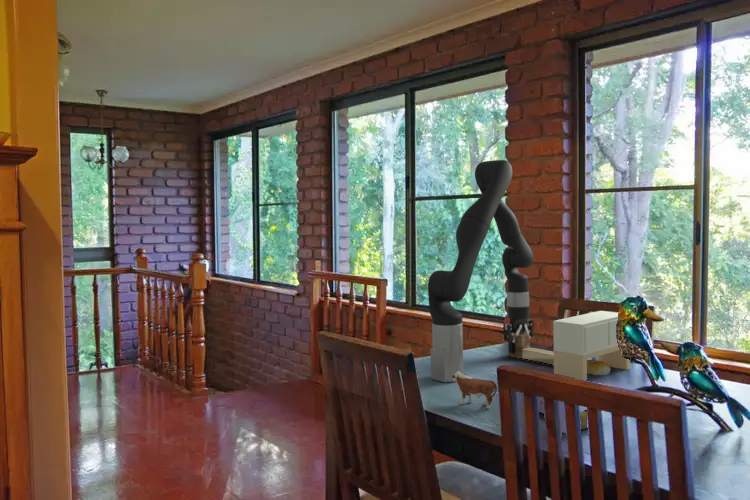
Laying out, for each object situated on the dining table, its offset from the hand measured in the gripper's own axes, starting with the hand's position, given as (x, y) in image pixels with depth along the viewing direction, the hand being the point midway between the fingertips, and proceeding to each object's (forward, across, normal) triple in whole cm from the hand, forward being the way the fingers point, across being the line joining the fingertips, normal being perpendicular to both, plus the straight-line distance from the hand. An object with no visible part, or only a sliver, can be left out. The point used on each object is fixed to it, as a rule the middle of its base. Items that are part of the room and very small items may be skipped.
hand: (519, 351), depth 217 cm
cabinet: (+2, -2, -30) cm, 30 cm away
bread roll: (+2, 0, -30) cm, 30 cm away
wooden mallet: (+2, 0, -9) cm, 9 cm away
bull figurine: (+2, -52, -26) cm, 58 cm away
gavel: (+3, -46, -48) cm, 66 cm away
